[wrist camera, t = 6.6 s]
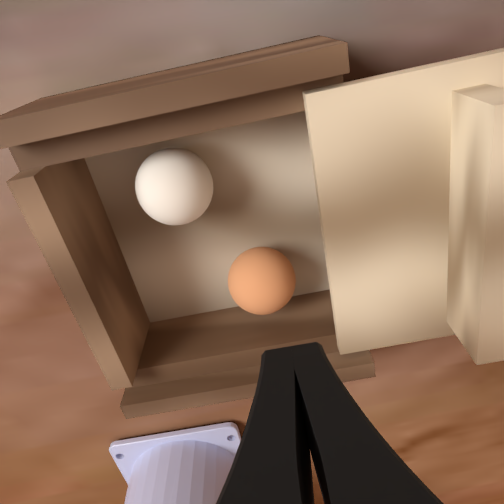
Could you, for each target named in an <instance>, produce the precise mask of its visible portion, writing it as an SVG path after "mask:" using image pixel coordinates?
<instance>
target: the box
mask: <svg viewBox="0 0 504 504" xmlns="http://www.w3.org/2000/svg"><path fill="white" fill-rule="evenodd" d="M346 73H350V69H349V57H348V45H347V42H343V41H339V40H335V39H331V38H327V37H323V36H314V37H310V38H305V39H301V40H296V41H292V42H288V43H283V44H279V45H274V46H270V47H265V48H261V49H257V50H252V51H248V52H243V53H239V54H234V55H230V56H226V57H221V58H217V59H212V60H208V61H203V62H199V63H195V64H190V65H186V66H181V67H177V68H172V69H168V70H164V71H159V72H155V73H150V74H146V75H141V76H137V77H132V78H128V79H124V80H119V81H115V82H110V83H106V84H101V85H97V86H93V87H88V88H84V89H79V90H75V91H70V92H66V93H62V94H57V95H53V96H48V97H44V98H40V99H38V100H35V101H33V102H31V103H28V104H26V105H24V106H21V107H19V108H17V109H14V110H12V111H9V112H7V113H5V114H2V115H0V149H3V148H9V150H10V152H11V154H12V156H13V158H14V160H15V162H16V164H17V166H18V168H19V170H20V172H19V173H18V174H16V175H15V176H14V177H12V178H11V179H10V180H8V181H7V184H8V186H9V188H10V190H11V192H12V194H13V196H14V198H15V200H16V202H17V204H18V206H19V208H20V210H21V212H22V214H23V216H24V218H25V220H26V222H27V224H28V226H29V228H30V230H31V232H32V234H33V236H34V238H35V240H36V242H37V244H38V246H39V248H40V250H41V251H42V253H43V255H44V257H45V259H46V261H47V263H48V265H49V267H50V269H51V271H52V273H53V275H54V277H55V279H56V281H57V283H58V285H59V287H60V289H61V291H62V293H63V295H64V297H65V299H66V301H67V303H68V305H69V307H70V309H71V311H72V313H73V315H74V317H75V319H76V321H77V323H78V325H79V327H80V329H81V331H82V333H83V335H84V337H85V338H86V340H87V342H88V344H89V346H90V348H91V350H92V352H93V354H94V356H95V358H96V360H97V362H98V364H99V366H100V368H101V370H102V372H103V374H104V376H105V378H106V380H107V382H108V384H109V386H110V388H111V390H117V389H123V388H125V391H124V395H123V398H122V401H121V405H120V408H121V410H122V412H123V414H124V416H125V418H126V419H129V418H135V417H141V416H147V415H153V414H159V413H165V412H171V411H176V410H182V409H188V408H194V407H200V406H206V405H212V404H218V403H224V402H229V401H235V400H241V399H247V398H253V397H254V395H255V391H256V387H257V382H258V377H259V372H260V366H261V356H262V354H263V353H264V351H265V350H270V349H276V348H282V347H288V346H294V345H300V344H306V343H312V342H318V343H319V344H321V345H322V347H323V349H324V352H325V354H326V356H327V358H328V360H329V362H330V363H331V365H332V367H333V369H334V370H335V372H336V374H337V375H338V377H339V378H340V380H341V382H347V381H353V380H359V379H365V378H371V377H376V376H375V364H374V361H373V358H372V356H371V353H370V351H369V350H365V351H359V352H354V353H348V354H342V355H340V352H339V349H338V346H337V339H336V332H335V325H334V317H333V310H332V303H331V296H330V288H329V281H328V274H327V267H326V259H325V252H324V245H323V237H322V230H321V223H320V216H319V208H318V201H317V194H316V187H315V179H314V172H313V165H312V157H311V150H310V143H309V136H308V128H307V121H306V114H305V107H304V99H303V91H307V90H312V89H316V88H321V87H326V86H330V85H335V84H339V83H344V82H343V74H346ZM165 148H182V149H186V150H188V151H191V152H192V153H194V154H196V155H197V156H198V157H200V158H201V159H202V160H203V161H204V163H205V164H206V165H207V167H208V169H209V171H210V173H211V176H212V179H213V195H212V199H211V202H210V204H209V206H208V208H207V209H206V211H205V212H204V213H203V214H202V215H201V216H200V217H199V218H197V219H196V220H194V221H192V222H190V223H188V224H184V225H167V224H163V223H160V222H158V221H156V220H155V219H153V218H151V217H150V216H149V215H148V214H147V213H146V212H145V211H144V210H143V208H142V207H141V205H140V203H139V201H138V199H137V196H136V191H135V180H136V175H137V172H138V170H139V168H140V166H141V164H142V163H143V162H144V161H145V159H146V158H147V157H149V156H150V155H151V154H153V153H154V152H156V151H158V150H161V149H165ZM255 247H269V248H272V249H275V250H277V251H279V252H281V253H282V254H283V255H284V256H286V257H287V259H288V260H289V261H290V263H291V264H292V266H293V269H294V272H295V278H296V285H295V290H294V293H293V295H292V297H291V299H290V300H289V302H288V303H287V304H286V305H285V306H284V307H283V308H282V309H280V310H278V311H276V312H274V313H271V314H267V315H257V314H253V313H249V312H247V311H245V310H244V309H242V308H241V307H240V306H238V305H237V304H236V302H235V301H234V300H233V298H232V296H231V294H230V291H229V288H228V274H229V270H230V268H231V265H232V263H233V262H234V260H235V259H236V258H237V257H238V256H239V255H240V254H241V253H243V252H244V251H246V250H248V249H251V248H255Z"/></svg>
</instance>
